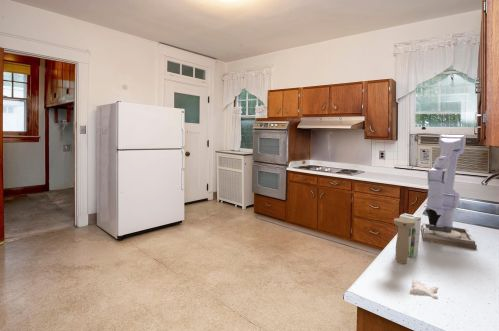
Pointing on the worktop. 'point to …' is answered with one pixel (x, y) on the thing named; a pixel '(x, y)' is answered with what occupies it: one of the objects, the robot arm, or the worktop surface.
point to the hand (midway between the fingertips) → (432, 226)
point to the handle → (403, 239)
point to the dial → (444, 231)
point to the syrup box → (413, 233)
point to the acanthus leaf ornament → (423, 289)
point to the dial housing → (463, 241)
